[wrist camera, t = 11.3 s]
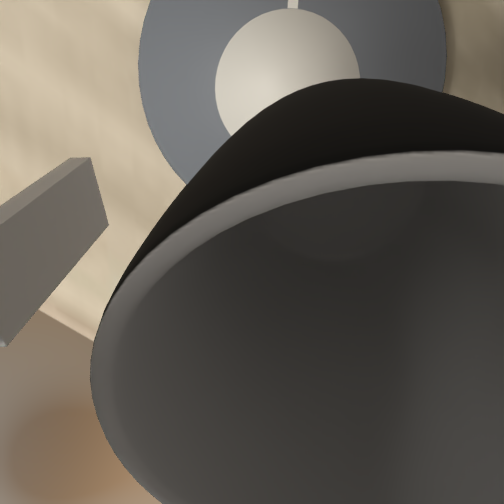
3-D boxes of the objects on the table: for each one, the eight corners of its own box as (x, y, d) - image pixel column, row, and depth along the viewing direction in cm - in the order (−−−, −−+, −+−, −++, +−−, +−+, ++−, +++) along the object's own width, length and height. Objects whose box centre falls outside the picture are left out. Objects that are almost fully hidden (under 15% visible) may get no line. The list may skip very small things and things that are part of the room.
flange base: (87, 79, 32) (46, 93, 27) (309, -212, 23) (313, -277, 18) (273, 261, 40) (270, 300, 35) (499, 101, 30) (541, 121, 25)
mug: (204, 44, 12) (-12, 136, 4) (507, 44, 12) (1083, 161, 3) (222, 330, 19) (156, 602, 10) (419, 343, 18) (524, 653, 9)
